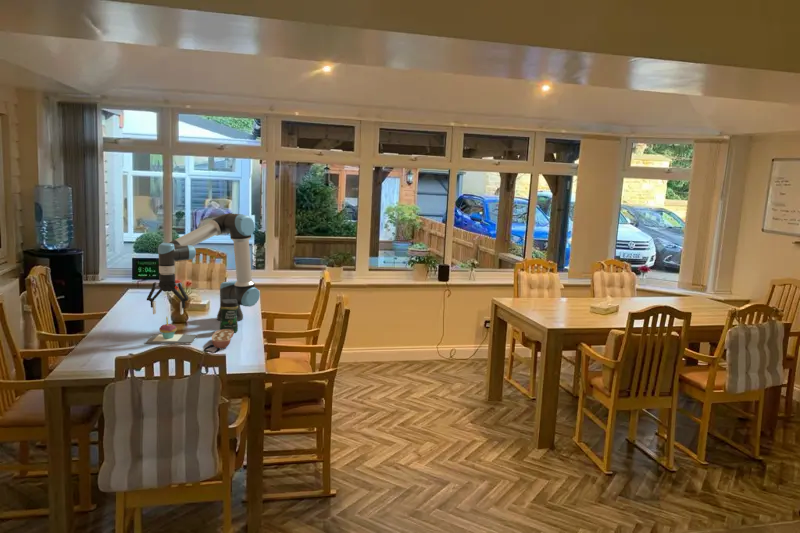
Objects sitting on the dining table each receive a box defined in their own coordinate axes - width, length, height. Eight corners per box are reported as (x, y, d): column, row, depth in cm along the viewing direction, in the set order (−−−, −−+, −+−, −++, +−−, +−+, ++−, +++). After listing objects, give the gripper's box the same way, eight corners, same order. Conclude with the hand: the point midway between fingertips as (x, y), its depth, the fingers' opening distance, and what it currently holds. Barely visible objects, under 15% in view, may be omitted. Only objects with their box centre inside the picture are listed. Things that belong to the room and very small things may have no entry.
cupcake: (174, 339, 302) (174, 317, 300) (157, 339, 301) (157, 317, 299) (178, 335, 310) (177, 313, 309) (161, 335, 309) (160, 313, 307)
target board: (196, 336, 314) (196, 334, 314) (190, 344, 300) (190, 341, 300) (154, 336, 311) (153, 333, 311) (146, 343, 298) (145, 341, 297)
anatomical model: (229, 350, 293) (229, 341, 293) (208, 350, 292) (208, 341, 291) (234, 338, 316) (234, 329, 315) (215, 338, 314) (215, 329, 313)
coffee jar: (220, 334, 321) (220, 301, 319) (219, 330, 329) (219, 298, 326) (238, 333, 325) (238, 300, 322) (237, 329, 332) (237, 297, 330)
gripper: (139, 274, 295) (140, 315, 299) (190, 275, 298) (191, 315, 302) (143, 271, 302) (145, 311, 306) (193, 272, 306) (194, 312, 309)
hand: (168, 313), depth 304 cm, fingers open, 13 cm apart
